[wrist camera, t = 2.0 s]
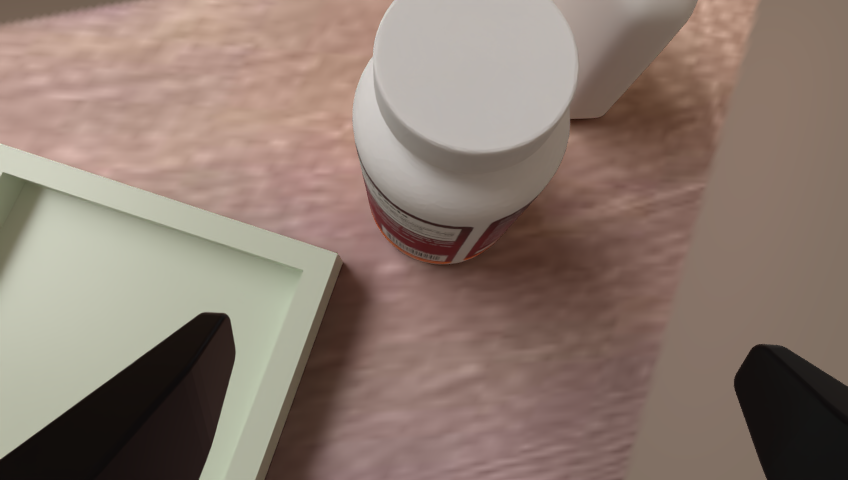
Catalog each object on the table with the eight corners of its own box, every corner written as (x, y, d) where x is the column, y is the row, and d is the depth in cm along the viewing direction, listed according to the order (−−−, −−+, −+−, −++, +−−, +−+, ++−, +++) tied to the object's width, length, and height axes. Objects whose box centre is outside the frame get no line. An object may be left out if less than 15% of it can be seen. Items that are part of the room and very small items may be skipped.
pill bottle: (489, 117, 23) (572, -86, 12) (527, 248, 22) (657, 153, 11) (354, 146, 22) (313, -41, 11) (386, 282, 21) (375, 218, 10)
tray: (212, 625, 18) (189, 659, 16) (-152, 503, 18) (-218, 522, 16) (343, 261, 21) (337, 253, 19) (28, 158, 21) (-10, 140, 19)
